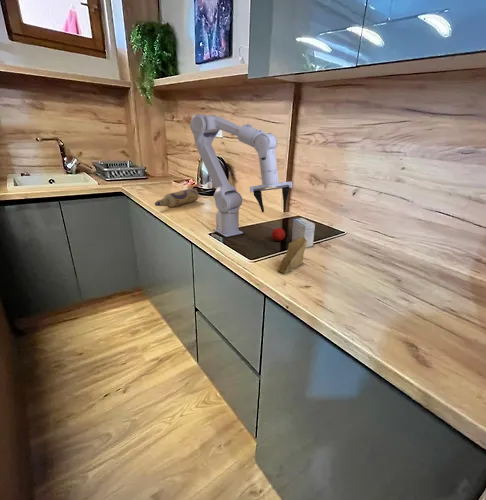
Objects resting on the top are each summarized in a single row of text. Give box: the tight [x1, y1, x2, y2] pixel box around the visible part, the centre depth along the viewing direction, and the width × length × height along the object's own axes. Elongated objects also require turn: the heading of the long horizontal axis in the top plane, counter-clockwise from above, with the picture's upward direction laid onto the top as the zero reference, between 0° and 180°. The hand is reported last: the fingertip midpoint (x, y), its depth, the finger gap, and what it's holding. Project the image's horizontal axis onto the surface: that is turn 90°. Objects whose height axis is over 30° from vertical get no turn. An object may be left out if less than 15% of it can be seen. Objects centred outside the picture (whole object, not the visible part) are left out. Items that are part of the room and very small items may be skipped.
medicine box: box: [291, 217, 316, 248], centre depth 111 cm, size 8×4×9 cm, turn 29°
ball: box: [271, 227, 286, 242], centre depth 113 cm, size 5×5×5 cm
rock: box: [277, 237, 307, 274], centre depth 93 cm, size 11×9×10 cm
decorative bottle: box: [154, 188, 199, 208], centre depth 152 cm, size 26×8×7 cm, turn 149°
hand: (273, 210), depth 107 cm, fingers open, 7 cm apart
